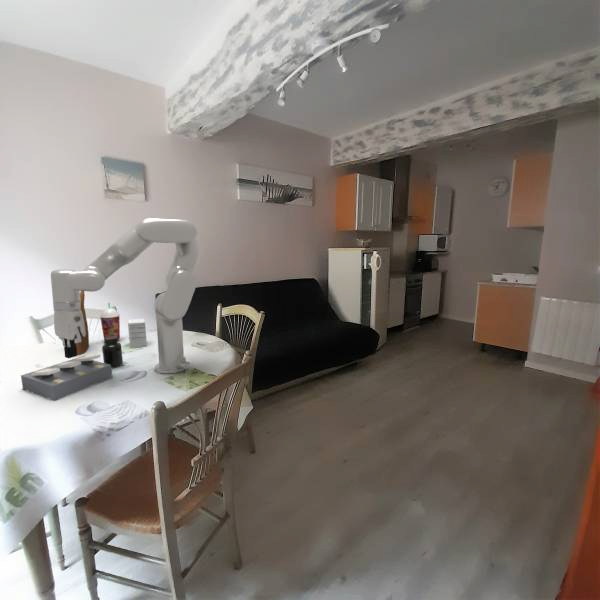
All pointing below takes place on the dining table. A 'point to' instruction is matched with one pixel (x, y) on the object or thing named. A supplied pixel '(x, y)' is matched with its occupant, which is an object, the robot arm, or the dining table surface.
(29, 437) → the dining table surface
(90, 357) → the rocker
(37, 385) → the console
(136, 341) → the supplement box
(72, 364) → the rocker
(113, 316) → the smoothie
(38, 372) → the rocker
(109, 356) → the supplement bottle
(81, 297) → the pancake mix bag
